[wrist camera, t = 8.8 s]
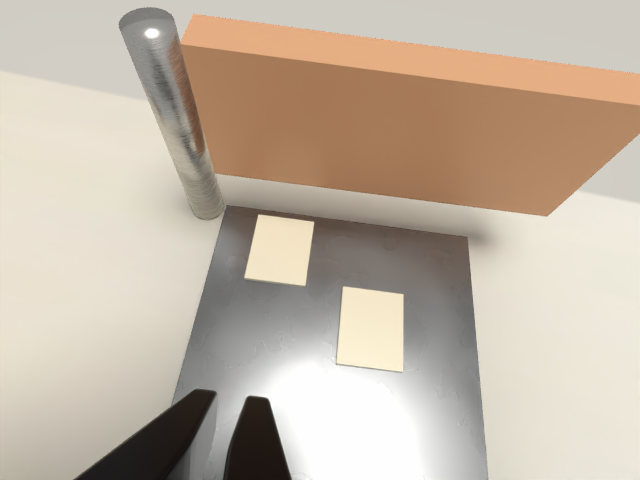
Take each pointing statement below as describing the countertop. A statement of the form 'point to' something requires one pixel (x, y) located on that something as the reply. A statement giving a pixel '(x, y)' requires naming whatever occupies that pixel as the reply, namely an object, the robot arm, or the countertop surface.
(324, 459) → the plate
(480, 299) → the countertop surface
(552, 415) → the countertop surface
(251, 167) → the peach rectangular plank
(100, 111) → the countertop surface
